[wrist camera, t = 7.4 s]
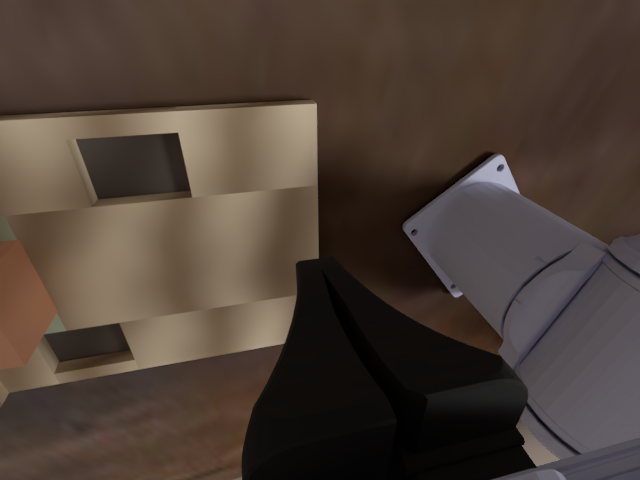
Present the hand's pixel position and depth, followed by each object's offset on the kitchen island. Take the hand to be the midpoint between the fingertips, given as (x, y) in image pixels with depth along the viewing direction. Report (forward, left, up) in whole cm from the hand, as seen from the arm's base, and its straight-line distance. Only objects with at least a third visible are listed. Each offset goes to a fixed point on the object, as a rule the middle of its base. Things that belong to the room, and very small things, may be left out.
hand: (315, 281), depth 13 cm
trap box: (+2, +10, -10) cm, 14 cm away
